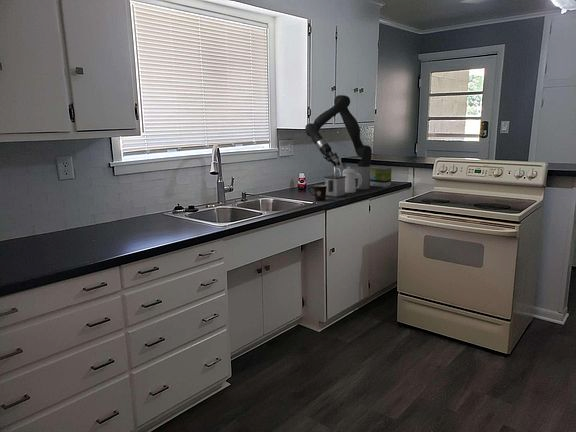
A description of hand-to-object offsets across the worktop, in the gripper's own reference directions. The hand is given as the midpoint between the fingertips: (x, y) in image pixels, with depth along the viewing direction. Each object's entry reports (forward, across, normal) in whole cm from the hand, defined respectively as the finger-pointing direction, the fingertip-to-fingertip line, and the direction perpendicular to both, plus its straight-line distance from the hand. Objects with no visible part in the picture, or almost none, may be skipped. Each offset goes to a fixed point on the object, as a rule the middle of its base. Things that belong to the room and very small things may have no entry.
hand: (337, 165), depth 303 cm
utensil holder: (+14, 0, +17) cm, 22 cm away
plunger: (+10, 0, +13) cm, 16 cm away
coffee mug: (+14, -19, +17) cm, 29 cm away
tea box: (+15, +61, +16) cm, 65 cm away
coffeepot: (+12, +21, +19) cm, 31 cm away
